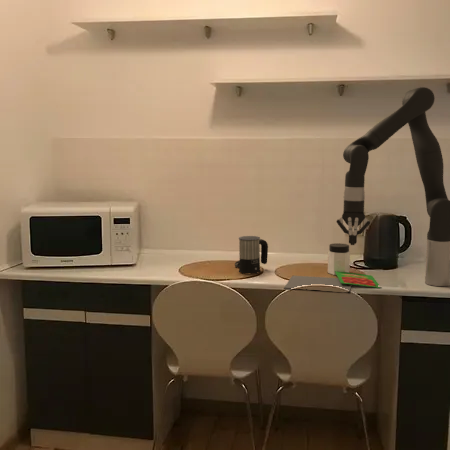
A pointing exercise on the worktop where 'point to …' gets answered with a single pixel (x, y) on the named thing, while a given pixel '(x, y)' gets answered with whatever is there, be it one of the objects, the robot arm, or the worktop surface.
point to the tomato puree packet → (357, 279)
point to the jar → (338, 258)
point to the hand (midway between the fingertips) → (352, 244)
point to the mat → (314, 282)
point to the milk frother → (251, 254)
